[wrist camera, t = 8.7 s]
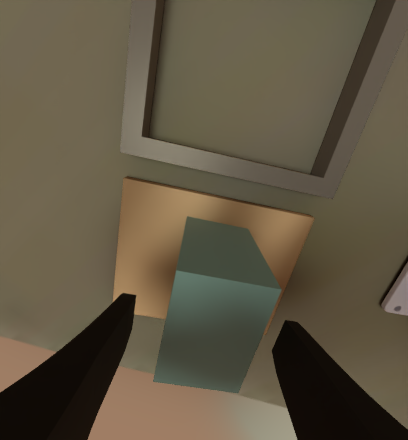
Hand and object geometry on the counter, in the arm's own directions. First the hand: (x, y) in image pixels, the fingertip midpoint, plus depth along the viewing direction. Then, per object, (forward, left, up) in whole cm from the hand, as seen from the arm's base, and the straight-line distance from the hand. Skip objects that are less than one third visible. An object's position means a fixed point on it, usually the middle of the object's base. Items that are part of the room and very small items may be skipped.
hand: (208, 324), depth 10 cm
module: (0, 0, -5) cm, 5 cm away
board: (0, 0, -5) cm, 5 cm away
